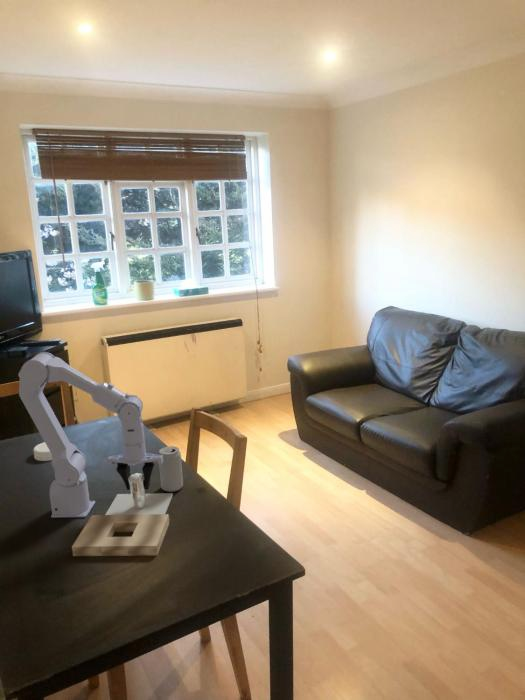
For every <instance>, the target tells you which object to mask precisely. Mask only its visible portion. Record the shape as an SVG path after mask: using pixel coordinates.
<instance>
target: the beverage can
mask: <svg viewBox="0 0 525 700" xmlns="http://www.w3.org/2000/svg"><path fill="white" fill-rule="evenodd" d="M158 452H159V453H158V455H163V463H162V464H158V466H159V478H160V488H161V489H162V490H163V491H164V492H166V493H174V492H177V491H180V490H181V489H182V487H183V486H184V477H183V464H182V454H181V453H182V452H181V451H180V448H179V447H177V446H172V445H170V446H165V447H162V448H159V451H158Z"/></svg>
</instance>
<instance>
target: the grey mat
mask: <svg viewBox="0 0 525 700" xmlns="http://www.w3.org/2000/svg"><path fill="white" fill-rule="evenodd" d="M173 493H174V492H166V493H164V492H163V493H145V494H146V505H145V507H143V508H139V509H137V508H134V506H133V501H132V496H131V493H117V494H116V496H115V497H114V499H113V501H112V503H111V505H110V506H109V507H108V510H107V511H106V512H105V514H104V515H146V514H166V513H167V511H168V508H169V506H170V503H171V500H172V498H173V496H174V494H173Z"/></svg>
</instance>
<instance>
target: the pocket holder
mask: <svg viewBox="0 0 525 700" xmlns="http://www.w3.org/2000/svg"><path fill="white" fill-rule="evenodd" d="M169 524H170V515H169V514H168V513H167V514H146V515H105V514H96V515H95V514H91V516H90V518H89V519H88V521H87V523H86V524H85V525H84V528H83V529H82V530H81V532H80V533H79V535H78V536H77V538H76V539H75V541H74V542H73V544H72V546H71V550H72V557H99V556H100V557H109V556H111V557H114V556H117V557H119V556H120V557H123V556H124V557H125V556H128V557H131V556H137V557H138V556H158V554H159V552H160V549H161V547H162V544H163V541H164V539H165V535H166V533H167V531H168V528H169ZM129 532H130V533H131V532H133V533H132V535H131V536H114V535H115V533H129Z"/></svg>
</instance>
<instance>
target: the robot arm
mask: <svg viewBox="0 0 525 700" xmlns="http://www.w3.org/2000/svg"><path fill="white" fill-rule="evenodd" d="M18 377H19V386H18V388H19V389H18V395H19V398H20V400H21V402H22V403H23V405H24V407H25V409H26V410H27V413H28V414H29V417H30V419H32V421H33V423H34V424H35V427H36V429H37V430H38V432H39V434H40V436H41V437H42V439H43V442H45V443H46V445H47V447H48V448H49V450H50V452H51V454H52V460H51V466H52V468H53V471H54V478H55V480H53V481H52V482H51V484H50V486H49V500H50V507H51V513H52V514H51V518H86V517H87V516H88V514H89V513H90V511H91V509H92V508H93V506H94V505H95V504H96V500H90V493H89V485H88V479H87V478H88V477H87V474H86V472H85V470H84V469H86V467H87V464H88V459H87V456H86V455H85V454H84V453H83V452H82V451H80V450H79V448H78V447H77V446H76V444H74V443H71V442H70V440H69V438H68V437H67V435H66V432H65V431H64V429H63V427H62V425H61V424H60V422H59V420H58V418H57V416H56V415H55V412H54V410H53V408H52V407H51V404H50V403H49V402H48V399H47V398H46V396H45V394H44V388H45V387H46V385H47V383H56V382H64V383H65V384H66V383H67V384H69V385H70V386H73V387H75V388H76V389H79V390H81V391H83V392H85V393H87V394H89V395H90V396H91V398H92V401H93V402H94V403H96V404H97V405H98V406H101V407H103V408H104V409H106V410H109V411H110V412H112V413H113V414H117V418H118V419H119V421H120V422H121V427H120V428H121V429H120V430H121V439H122V448H123V454H117V455H109V457H108V458H107V465H108V466H113V465H116V468H115V469H116V472H117V474H119V476H120V477H121V479H122V480H123V482H124V485H125V488H126V490H127V491H130V487H129V482H128V478H129V476H131V466H136V465H140V464H141V465H143V466H142V468H141V469H142V474H143V475H144V480H145V491H146V490H149V488H150V484H151V477H152V472H153V471H154V470H153V469H154V468H155V464H157V465H159V464H162V463H163V455H159V454H155V453H148V452H146V451H147V450H146V441H145V428H144V423H143V421H144V420H143V415H142V412H143V410H144V404H143V401H142V400H141V398H140V397H138V396H137V395H135V394H130V393H128V392H126V393H124V392H123V391H121V390H120V389H118V388H117V387H115V385H114V383H112V382H109V383H108V382H106V381H104V382H100V383H99V382H96V381H94V380H93V379H91V378H90V377H88V376H87V375H86V374H83V372H81V371H79V370H77V369H76V368H74V367H72V366H71V365H70V364H68V363H67V362H66V361H64V360H63V359H62V358H61V357H58V356H55V355H53V354H52V353H50V352H47V351H42V352H41V351H40V352H37V354H35V355H34V356H33V357H32V358H31V359H29V360H27V361H25V362H24V363H23V364H22V366H21V368H20V370H19V372H18Z"/></svg>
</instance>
